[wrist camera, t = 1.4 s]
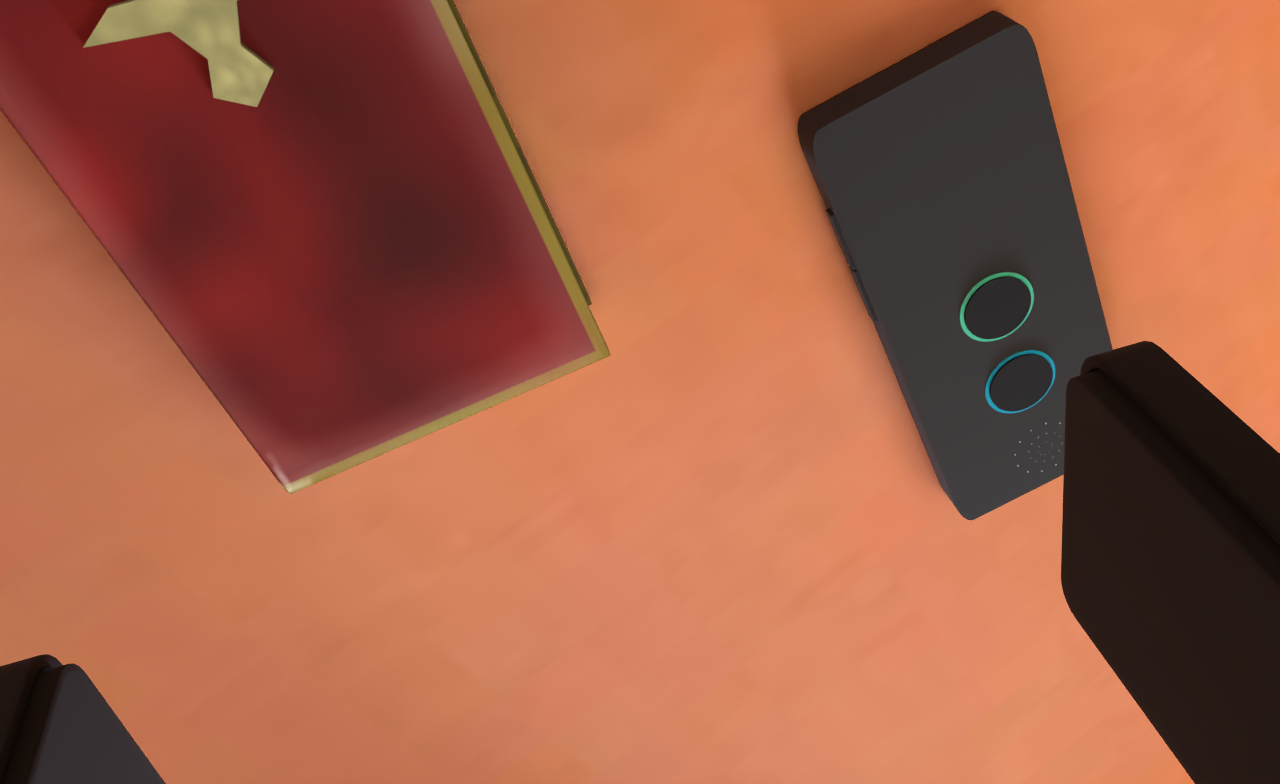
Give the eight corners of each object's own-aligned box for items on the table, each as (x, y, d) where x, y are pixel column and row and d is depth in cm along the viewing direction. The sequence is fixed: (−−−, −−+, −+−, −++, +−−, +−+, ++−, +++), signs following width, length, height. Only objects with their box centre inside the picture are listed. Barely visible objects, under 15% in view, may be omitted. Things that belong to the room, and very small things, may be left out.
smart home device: (962, 529, 48) (802, 140, 37) (944, 504, 50) (786, 122, 38) (1140, 439, 48) (1034, 15, 36) (1117, 416, 49) (1008, 1, 38)
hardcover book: (284, 431, 41) (278, 504, 37) (-147, -169, 29) (-215, -144, 25) (589, 298, 40) (612, 359, 37) (284, -366, 28) (276, -367, 25)
